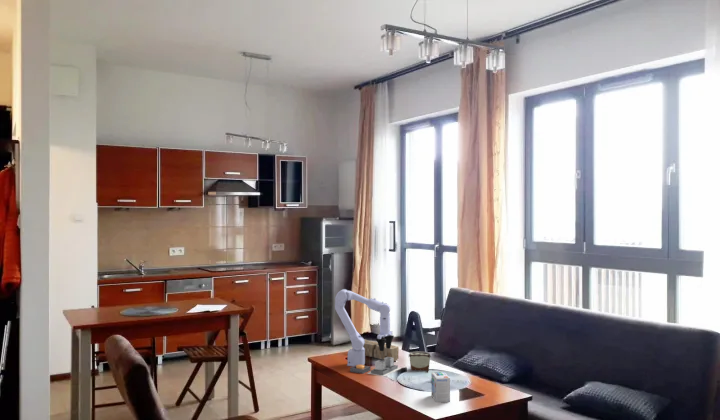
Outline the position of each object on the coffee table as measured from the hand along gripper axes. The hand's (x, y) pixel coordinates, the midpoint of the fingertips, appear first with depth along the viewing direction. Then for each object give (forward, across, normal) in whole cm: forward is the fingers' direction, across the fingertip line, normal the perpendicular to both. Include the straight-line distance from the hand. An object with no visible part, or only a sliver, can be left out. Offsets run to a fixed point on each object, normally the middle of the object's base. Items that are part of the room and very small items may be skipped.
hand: (385, 349), depth 319 cm
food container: (+10, +1, -21) cm, 23 cm away
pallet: (+9, -12, -6) cm, 16 cm away
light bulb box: (+10, -39, -50) cm, 64 cm away
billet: (+8, -8, -6) cm, 13 cm away
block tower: (+10, +19, +15) cm, 26 cm away
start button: (+8, -19, +5) cm, 21 cm away
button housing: (+9, -19, +5) cm, 22 cm away
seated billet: (+8, -16, -6) cm, 19 cm away
